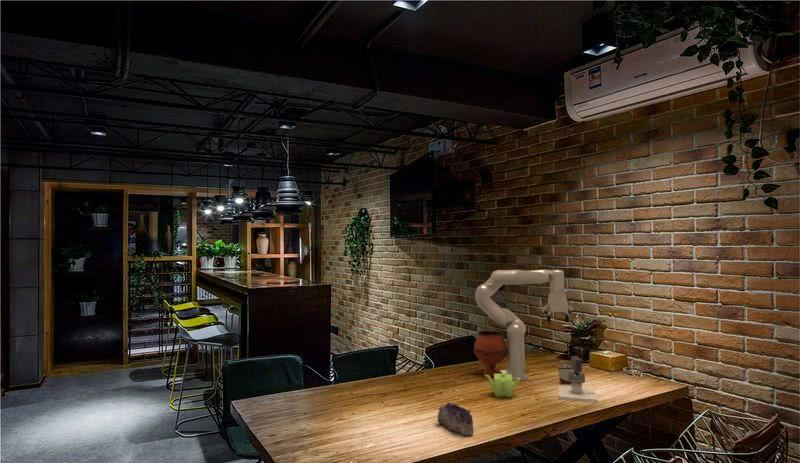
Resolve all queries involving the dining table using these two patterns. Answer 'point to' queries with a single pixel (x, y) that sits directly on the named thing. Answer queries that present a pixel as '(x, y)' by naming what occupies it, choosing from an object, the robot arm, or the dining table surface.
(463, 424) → the geode
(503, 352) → the goblet
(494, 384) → the kettle
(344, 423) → the dining table surface
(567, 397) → the post base
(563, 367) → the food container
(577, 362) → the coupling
